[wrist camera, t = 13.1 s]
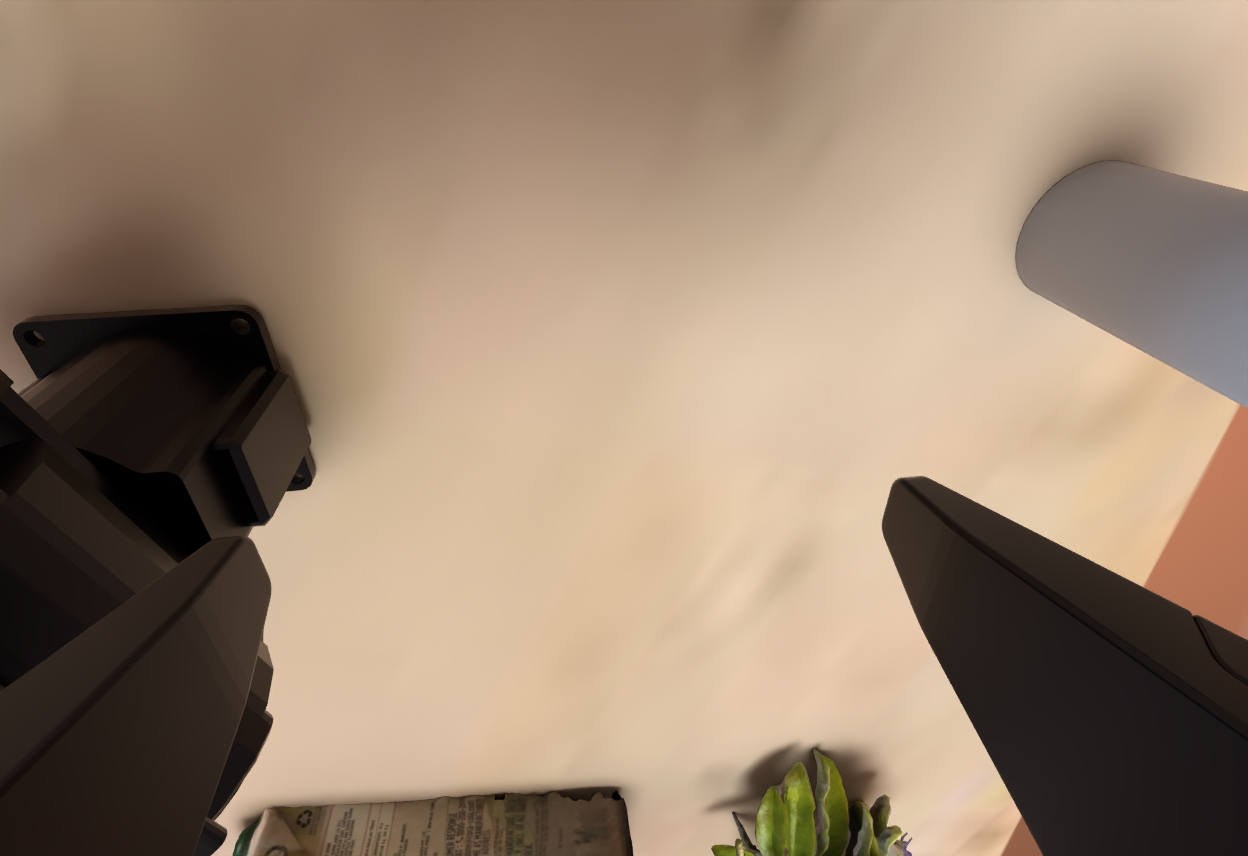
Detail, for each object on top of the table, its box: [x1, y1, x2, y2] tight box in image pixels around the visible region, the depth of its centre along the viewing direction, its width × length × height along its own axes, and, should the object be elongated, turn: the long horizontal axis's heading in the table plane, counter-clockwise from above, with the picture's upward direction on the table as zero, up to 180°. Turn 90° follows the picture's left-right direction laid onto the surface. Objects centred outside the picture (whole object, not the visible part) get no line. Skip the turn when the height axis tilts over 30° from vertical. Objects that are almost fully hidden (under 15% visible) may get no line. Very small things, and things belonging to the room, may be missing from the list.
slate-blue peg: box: [1016, 160, 1248, 408], centre depth 16 cm, size 4×4×10 cm
